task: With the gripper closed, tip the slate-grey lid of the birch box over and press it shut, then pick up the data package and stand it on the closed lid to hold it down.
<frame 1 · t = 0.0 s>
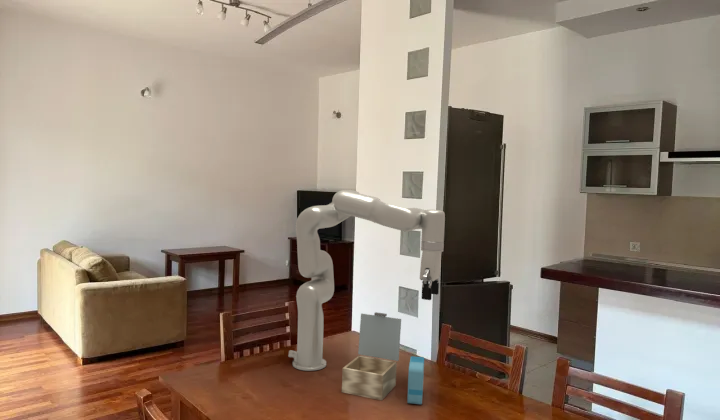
hand: (430, 296, 172), 31 cm above the table, tool pointing down, fingers open, 9 cm apart
box lid: (379, 335, 177), point 16 cm above the table, hinge at 95.0°
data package: (415, 398, 164), on the table
open box: (369, 388, 170), on the table
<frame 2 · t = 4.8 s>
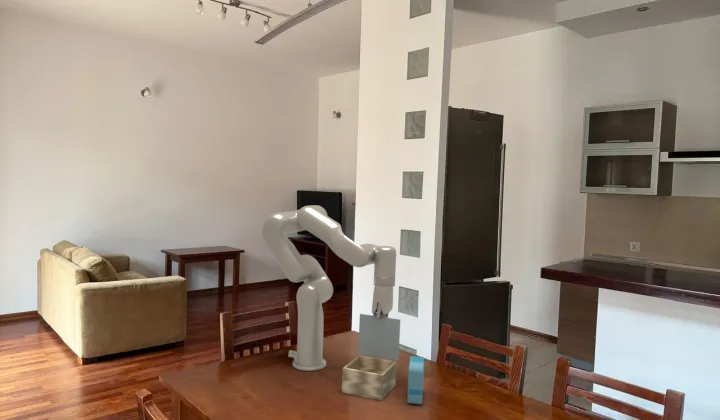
hand: (382, 332, 180), 16 cm above the table, tool pointing down, fingers closed
box lid: (378, 335, 176), point 16 cm above the table, hinge at 90.6°, touching gripper
everything else where it was.
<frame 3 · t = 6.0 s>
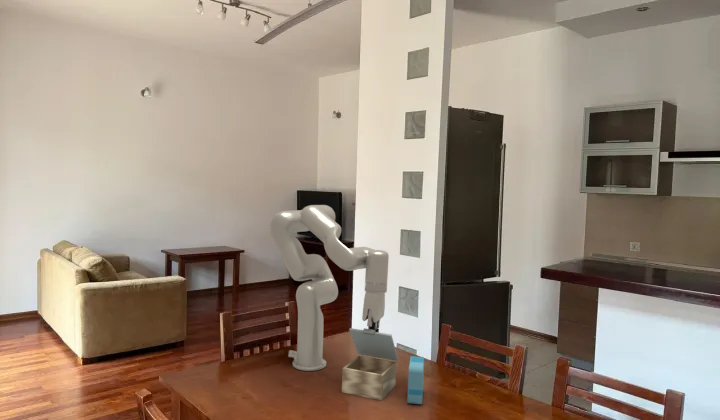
hand: (373, 340, 173), 16 cm above the table, tool pointing down, fingers closed
box lid: (373, 345, 172), point 14 cm above the table, hinge at 51.1°, touching gripper
everything else where it was.
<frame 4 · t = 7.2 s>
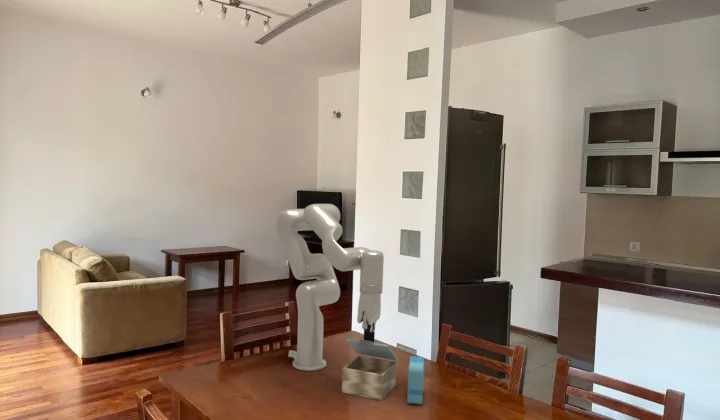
hand: (368, 342, 168), 16 cm above the table, tool pointing down, fingers closed
box lid: (371, 350, 171), point 13 cm above the table, hinge at 35.6°, touching gripper
everything else where it was.
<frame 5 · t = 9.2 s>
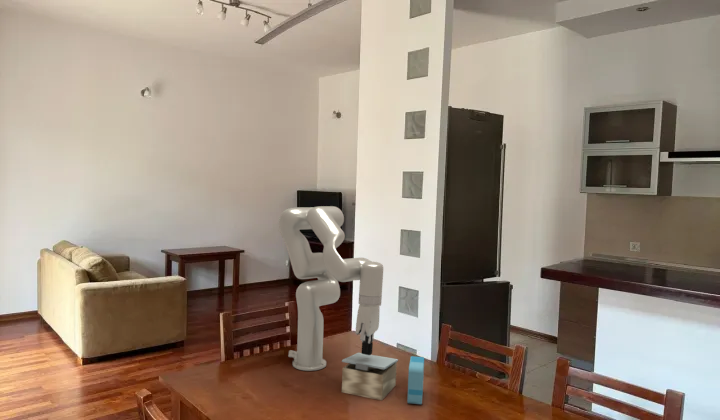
hand: (366, 353, 168), 12 cm above the table, tool pointing down, fingers closed
box lid: (369, 362, 170), point 9 cm above the table, hinge at 6.9°
everything else where it was.
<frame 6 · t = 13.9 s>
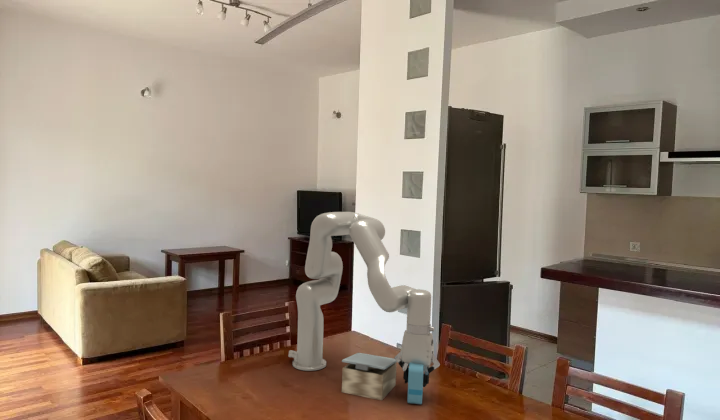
hand: (415, 383, 164), 5 cm above the table, tool pointing down, fingers closed on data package, 5 cm apart
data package: (415, 398, 164), on the table, touching gripper
everything else where it was.
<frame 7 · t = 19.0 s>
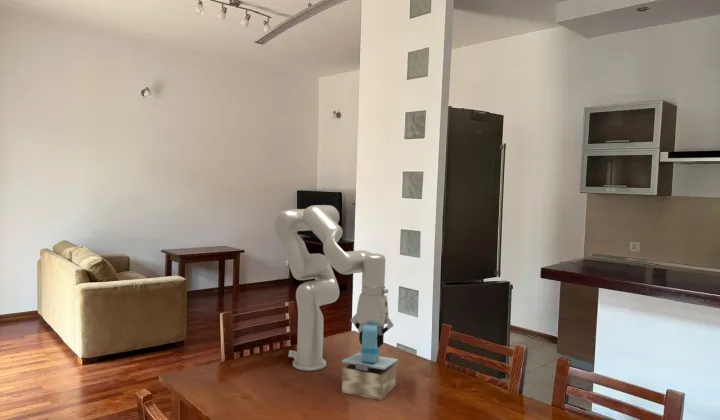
hand: (371, 344, 170), 15 cm above the table, tool pointing down, fingers closed on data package, 5 cm apart
box lid: (369, 362, 170), point 9 cm above the table, hinge at 6.5°, touching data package
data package: (370, 358, 170), point 10 cm above the table, touching box lid, gripper
when the fingers open (15 cm above the table, at t = 19.2 s): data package stays where it is, resting on box lid.
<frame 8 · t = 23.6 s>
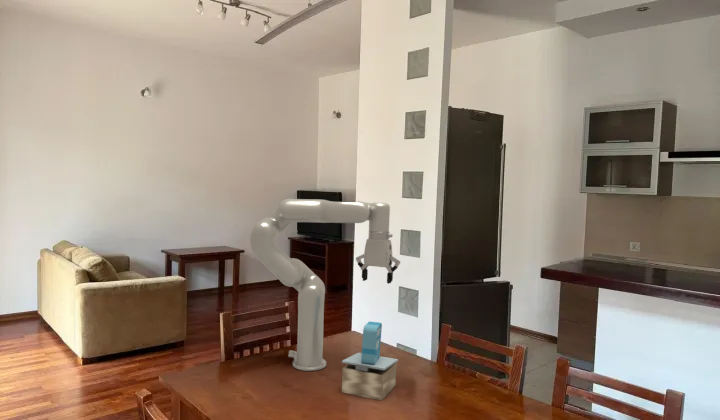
hand: (376, 281, 190), 32 cm above the table, tool pointing down, fingers open, 9 cm apart
box lid: (369, 362, 170), point 9 cm above the table, hinge at 5.9°, touching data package
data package: (370, 360, 170), point 9 cm above the table, touching box lid
at the end: box lid at +6° (first picture: +95°); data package inside the target area on the open box (0.1 cm from its centre), point 9.5 cm above the open box's base; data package tilted 6° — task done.
